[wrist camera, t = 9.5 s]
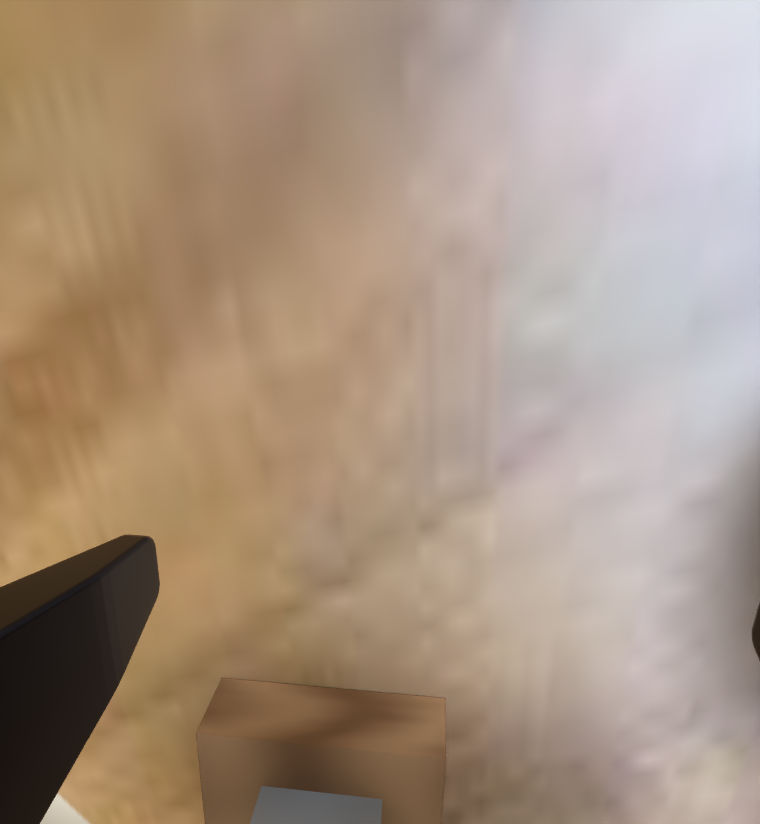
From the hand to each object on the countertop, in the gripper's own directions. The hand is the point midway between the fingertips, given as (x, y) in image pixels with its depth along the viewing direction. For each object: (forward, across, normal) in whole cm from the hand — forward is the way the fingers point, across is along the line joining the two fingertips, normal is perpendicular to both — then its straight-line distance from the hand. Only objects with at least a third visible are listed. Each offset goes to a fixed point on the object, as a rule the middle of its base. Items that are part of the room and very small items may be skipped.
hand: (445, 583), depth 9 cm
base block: (+13, +4, +20) cm, 24 cm away
